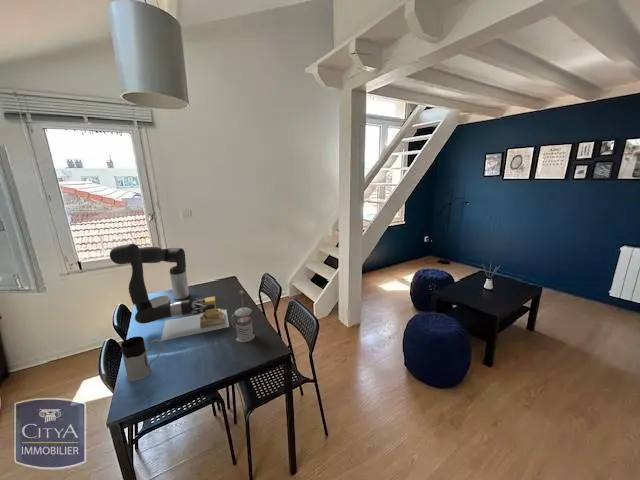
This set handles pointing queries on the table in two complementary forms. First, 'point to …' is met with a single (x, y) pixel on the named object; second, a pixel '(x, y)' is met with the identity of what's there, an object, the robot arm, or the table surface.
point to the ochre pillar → (208, 302)
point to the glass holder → (136, 358)
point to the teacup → (160, 301)
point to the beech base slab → (212, 319)
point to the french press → (245, 331)
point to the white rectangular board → (188, 326)
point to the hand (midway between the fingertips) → (214, 302)
